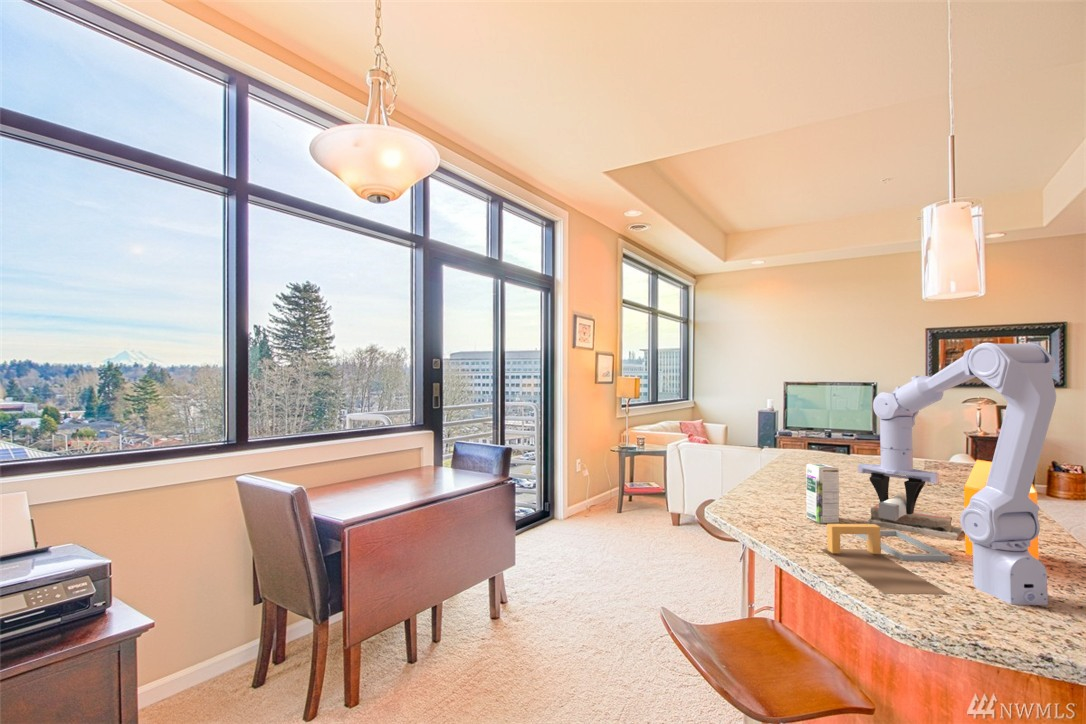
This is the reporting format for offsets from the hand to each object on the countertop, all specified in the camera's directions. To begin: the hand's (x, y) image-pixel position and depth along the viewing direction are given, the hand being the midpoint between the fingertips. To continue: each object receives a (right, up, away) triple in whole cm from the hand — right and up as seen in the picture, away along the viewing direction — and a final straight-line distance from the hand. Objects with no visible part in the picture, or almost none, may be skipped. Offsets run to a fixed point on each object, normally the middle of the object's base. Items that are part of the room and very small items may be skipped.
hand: (897, 511), depth 110 cm
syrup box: (-3, -10, +24) cm, 26 cm away
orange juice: (+19, -9, -4) cm, 21 cm away
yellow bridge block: (-12, -7, -4) cm, 14 cm away
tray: (+1, -9, +1) cm, 9 cm away
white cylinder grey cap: (0, -1, 0) cm, 1 cm away
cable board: (-12, -9, -12) cm, 19 cm away
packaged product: (+16, -10, +18) cm, 26 cm away
